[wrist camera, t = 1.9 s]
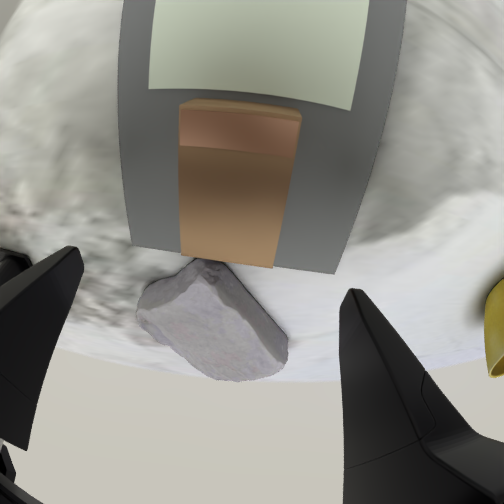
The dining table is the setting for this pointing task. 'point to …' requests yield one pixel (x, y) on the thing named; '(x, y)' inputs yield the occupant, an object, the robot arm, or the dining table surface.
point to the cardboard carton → (234, 178)
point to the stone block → (213, 323)
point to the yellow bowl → (495, 331)
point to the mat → (260, 91)
